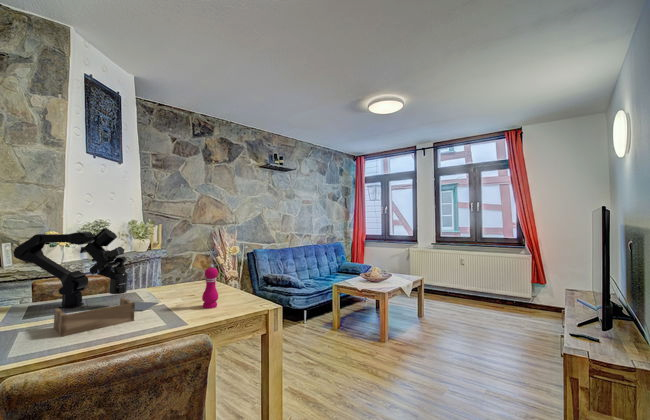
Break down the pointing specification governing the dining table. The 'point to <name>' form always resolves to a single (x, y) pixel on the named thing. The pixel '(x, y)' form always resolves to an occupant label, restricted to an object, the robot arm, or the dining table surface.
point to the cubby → (93, 318)
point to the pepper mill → (210, 288)
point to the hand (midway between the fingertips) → (122, 278)
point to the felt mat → (143, 305)
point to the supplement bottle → (119, 281)
